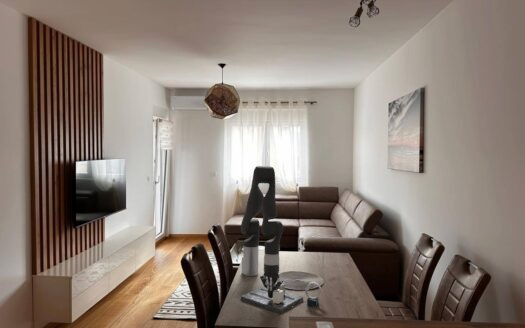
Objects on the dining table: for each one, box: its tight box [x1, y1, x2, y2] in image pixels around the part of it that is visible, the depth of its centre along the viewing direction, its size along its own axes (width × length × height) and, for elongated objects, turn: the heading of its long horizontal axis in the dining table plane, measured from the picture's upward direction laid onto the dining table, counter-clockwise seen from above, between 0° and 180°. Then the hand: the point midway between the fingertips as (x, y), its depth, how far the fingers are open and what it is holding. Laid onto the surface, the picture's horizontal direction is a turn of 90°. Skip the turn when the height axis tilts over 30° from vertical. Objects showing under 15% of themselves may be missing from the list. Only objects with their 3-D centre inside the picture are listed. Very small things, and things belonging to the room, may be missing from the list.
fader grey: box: [275, 282, 286, 294], centre depth 187 cm, size 3×4×5 cm
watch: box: [304, 280, 322, 308], centre depth 181 cm, size 6×8×11 cm
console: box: [240, 285, 304, 315], centre depth 185 cm, size 24×20×2 cm
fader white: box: [273, 289, 284, 304], centre depth 178 cm, size 3×4×5 cm
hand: (270, 297), depth 181 cm, fingers closed
